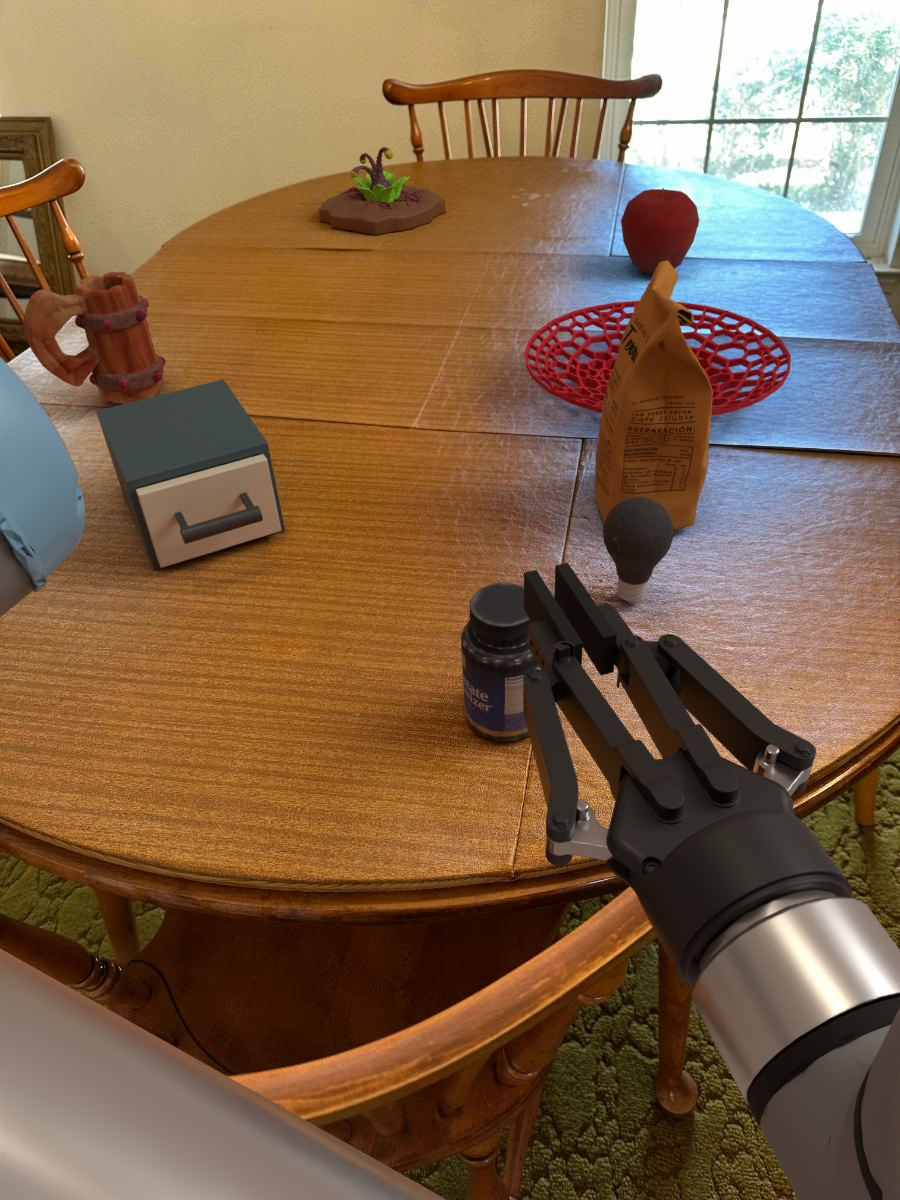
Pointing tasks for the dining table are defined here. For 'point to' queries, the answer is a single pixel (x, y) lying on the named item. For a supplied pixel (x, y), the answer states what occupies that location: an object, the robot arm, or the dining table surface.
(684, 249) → the apple
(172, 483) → the drawer
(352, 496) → the dining table surface
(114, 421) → the cabinet
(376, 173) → the plant
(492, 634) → the pill bottle
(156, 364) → the mug
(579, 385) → the bowl
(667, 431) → the coffee package
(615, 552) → the light bulb
